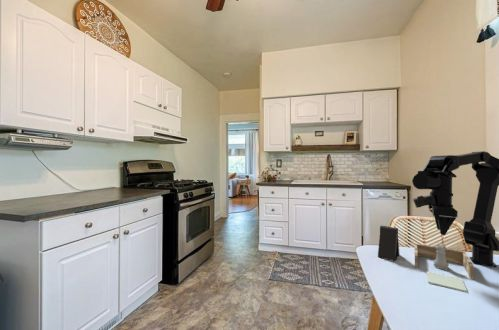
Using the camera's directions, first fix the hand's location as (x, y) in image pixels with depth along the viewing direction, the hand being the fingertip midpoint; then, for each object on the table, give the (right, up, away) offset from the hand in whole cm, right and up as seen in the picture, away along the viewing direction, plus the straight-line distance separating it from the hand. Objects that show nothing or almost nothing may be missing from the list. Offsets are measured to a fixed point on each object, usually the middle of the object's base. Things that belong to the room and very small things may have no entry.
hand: (441, 232), depth 83 cm
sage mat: (-7, -13, -10) cm, 18 cm away
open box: (+1, -13, +2) cm, 13 cm away
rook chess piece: (0, -13, 0) cm, 13 cm away
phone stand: (-13, -13, +11) cm, 21 cm away
